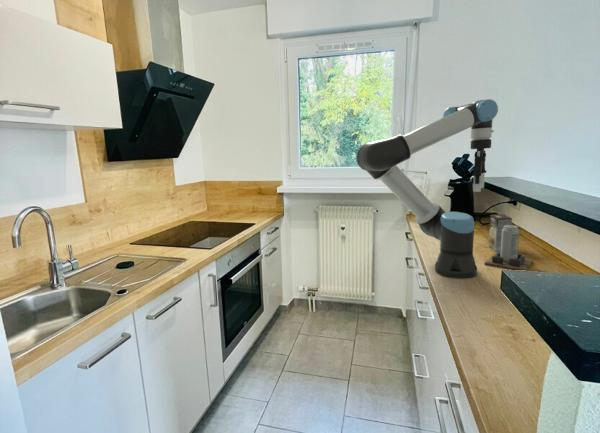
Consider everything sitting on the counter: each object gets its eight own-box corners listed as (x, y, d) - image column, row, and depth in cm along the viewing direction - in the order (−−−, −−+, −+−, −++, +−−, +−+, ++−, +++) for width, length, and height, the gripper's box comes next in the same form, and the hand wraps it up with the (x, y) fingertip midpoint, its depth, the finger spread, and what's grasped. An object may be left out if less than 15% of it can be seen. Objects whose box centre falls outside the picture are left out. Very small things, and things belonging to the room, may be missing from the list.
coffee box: (487, 246, 155) (489, 214, 152) (502, 246, 154) (504, 214, 151) (495, 251, 146) (497, 218, 143) (510, 251, 145) (512, 218, 142)
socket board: (524, 272, 121) (525, 263, 121) (484, 264, 131) (484, 256, 131) (532, 262, 131) (533, 254, 130) (494, 256, 141) (495, 248, 140)
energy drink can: (506, 258, 135) (508, 224, 132) (520, 262, 129) (523, 226, 126) (496, 260, 133) (498, 226, 130) (510, 264, 127) (512, 228, 124)
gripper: (489, 138, 119) (486, 193, 123) (493, 138, 139) (491, 186, 143) (466, 139, 123) (464, 193, 127) (474, 140, 143) (472, 186, 147)
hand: (478, 189), depth 135 cm, fingers open, 13 cm apart
